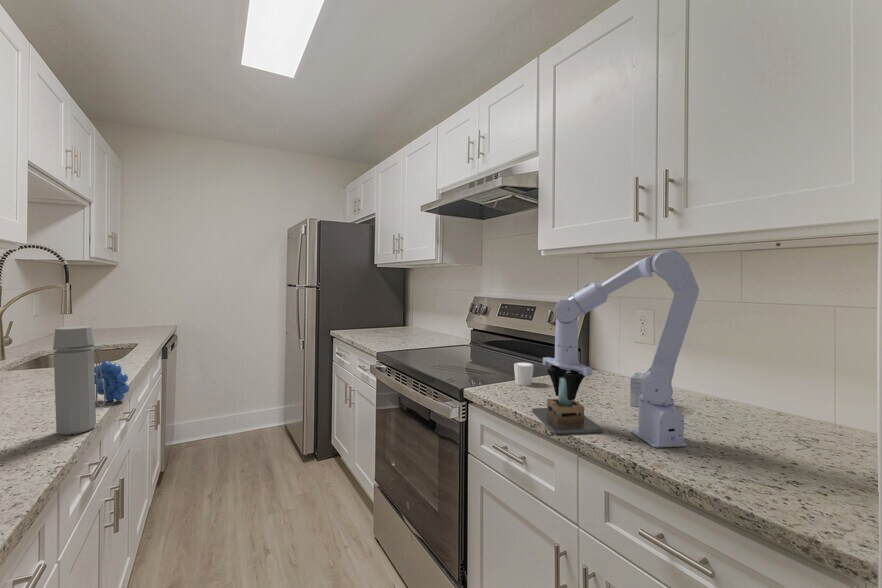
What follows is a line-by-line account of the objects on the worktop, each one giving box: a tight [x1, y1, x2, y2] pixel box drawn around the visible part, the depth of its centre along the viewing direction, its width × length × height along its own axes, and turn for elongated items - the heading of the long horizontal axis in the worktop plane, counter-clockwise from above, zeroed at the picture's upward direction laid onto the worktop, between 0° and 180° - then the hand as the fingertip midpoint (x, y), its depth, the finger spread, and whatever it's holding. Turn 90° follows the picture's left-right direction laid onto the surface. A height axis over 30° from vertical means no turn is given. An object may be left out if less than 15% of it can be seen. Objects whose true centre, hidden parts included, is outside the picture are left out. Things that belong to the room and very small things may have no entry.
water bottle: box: [52, 325, 106, 436], centre depth 95 cm, size 9×8×25 cm
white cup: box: [513, 361, 534, 387], centre depth 140 cm, size 7×7×7 cm
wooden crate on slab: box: [531, 398, 603, 435], centre depth 103 cm, size 16×12×5 cm
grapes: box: [94, 360, 130, 402], centre depth 116 cm, size 12×7×12 cm, turn 82°
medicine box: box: [629, 372, 645, 408], centre depth 118 cm, size 8×4×9 cm, turn 143°
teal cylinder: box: [557, 376, 572, 406], centre depth 103 cm, size 4×4×8 cm
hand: (565, 397), depth 103 cm, fingers closed on teal cylinder, 3 cm apart
